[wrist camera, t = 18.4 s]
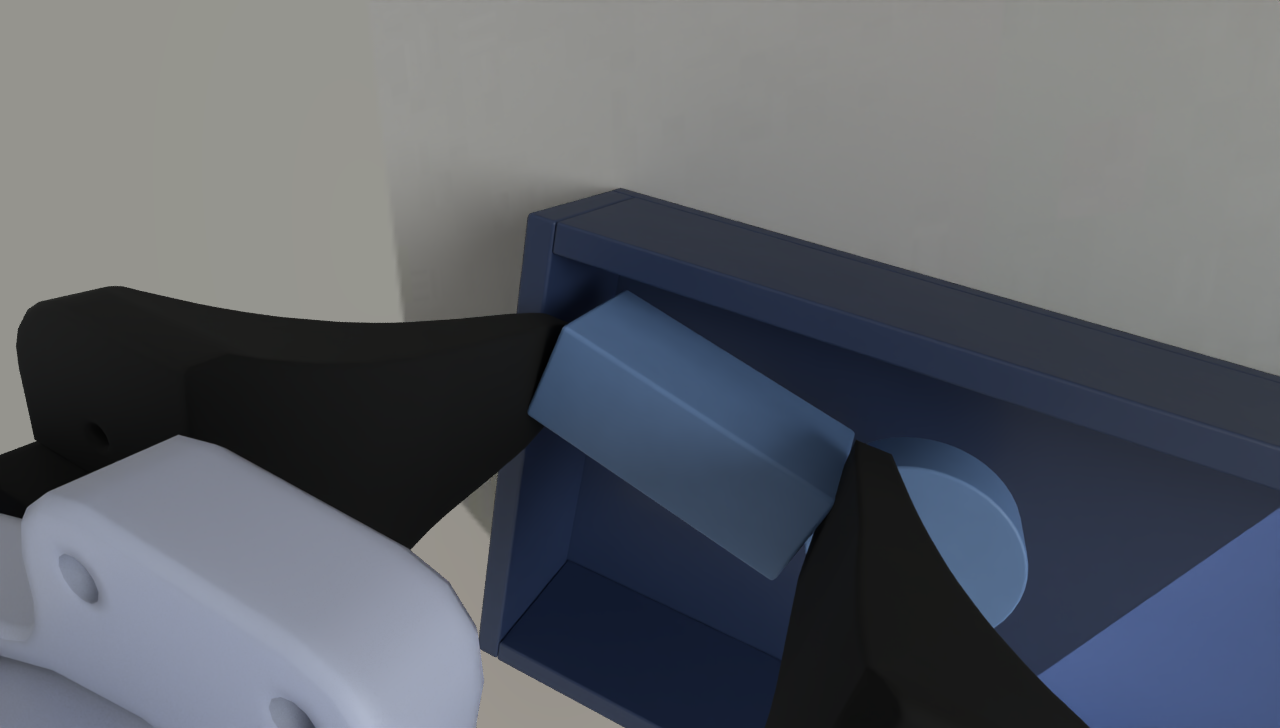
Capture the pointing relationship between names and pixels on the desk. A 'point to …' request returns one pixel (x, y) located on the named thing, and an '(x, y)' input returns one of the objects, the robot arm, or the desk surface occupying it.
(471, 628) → the robot arm
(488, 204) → the desk surface
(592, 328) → the blue disc on block
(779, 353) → the navy bin
